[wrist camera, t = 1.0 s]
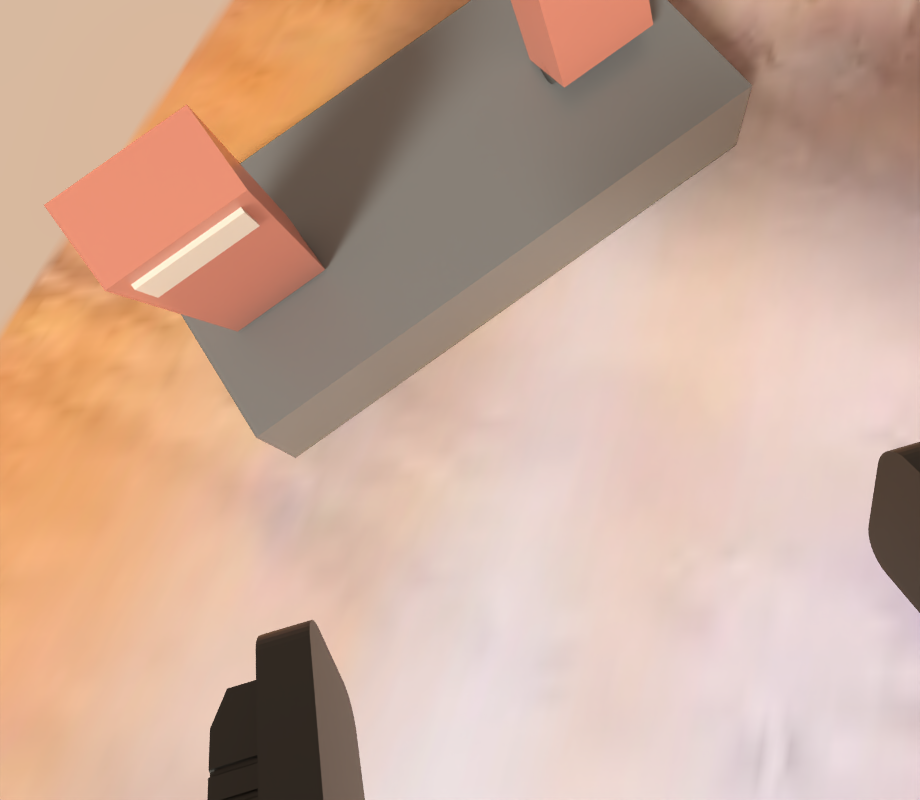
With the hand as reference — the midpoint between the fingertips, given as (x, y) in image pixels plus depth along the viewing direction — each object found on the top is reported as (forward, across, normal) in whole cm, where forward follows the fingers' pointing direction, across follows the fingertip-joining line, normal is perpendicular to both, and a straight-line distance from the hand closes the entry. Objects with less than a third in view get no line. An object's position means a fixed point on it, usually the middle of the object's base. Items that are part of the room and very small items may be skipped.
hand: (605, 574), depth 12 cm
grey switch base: (+26, -2, +6) cm, 26 cm away
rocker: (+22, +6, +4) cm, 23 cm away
